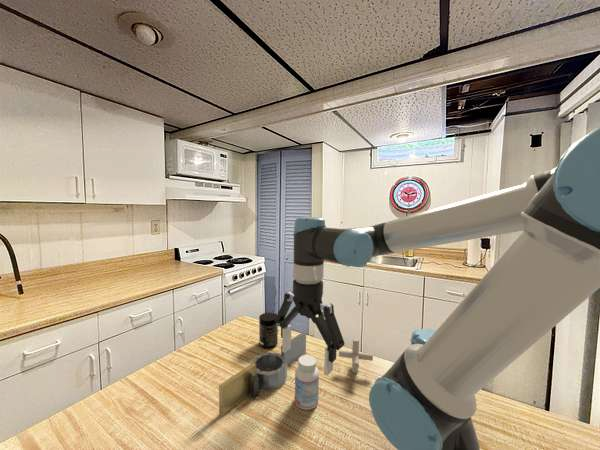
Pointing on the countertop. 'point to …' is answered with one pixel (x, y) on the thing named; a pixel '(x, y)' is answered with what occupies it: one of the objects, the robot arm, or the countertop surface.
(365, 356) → the pipe connector
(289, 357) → the hinge base
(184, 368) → the countertop surface
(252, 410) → the countertop surface
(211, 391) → the countertop surface
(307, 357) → the pill bottle
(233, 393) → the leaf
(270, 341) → the supplement container
